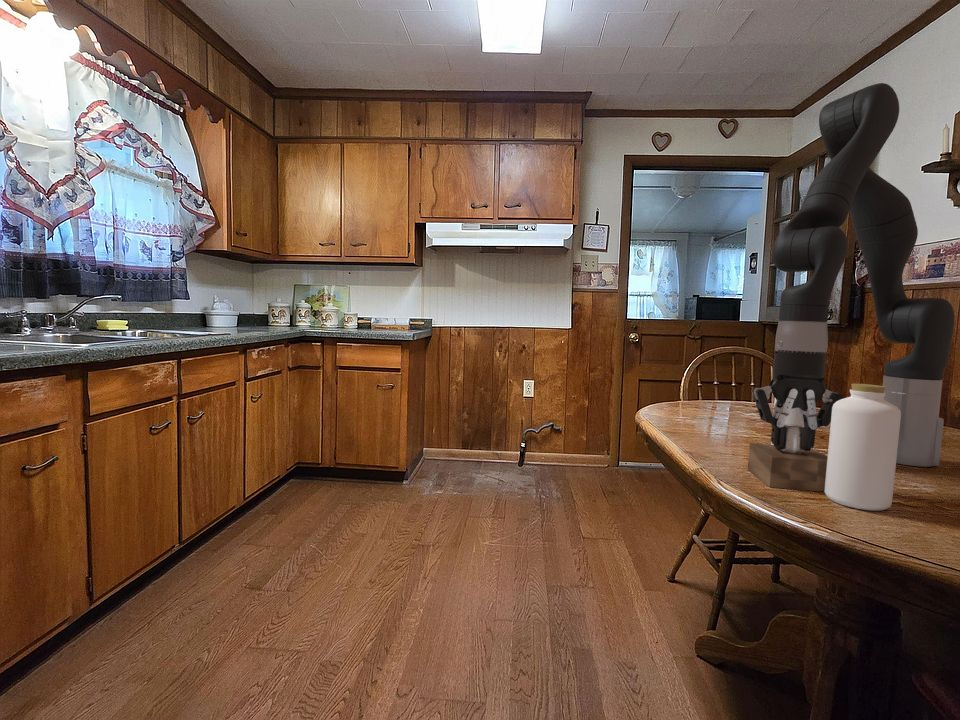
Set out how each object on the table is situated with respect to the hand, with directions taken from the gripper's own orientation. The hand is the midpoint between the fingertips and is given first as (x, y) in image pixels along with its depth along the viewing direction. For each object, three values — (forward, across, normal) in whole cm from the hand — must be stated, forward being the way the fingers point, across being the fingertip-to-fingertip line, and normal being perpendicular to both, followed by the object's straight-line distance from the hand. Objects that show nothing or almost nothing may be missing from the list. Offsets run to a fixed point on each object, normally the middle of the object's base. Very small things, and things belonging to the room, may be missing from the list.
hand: (791, 448), depth 89 cm
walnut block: (+6, 0, 0) cm, 6 cm away
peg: (+4, 0, 0) cm, 4 cm away
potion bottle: (+6, -6, +10) cm, 13 cm away
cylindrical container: (+6, -8, -19) cm, 21 cm away
